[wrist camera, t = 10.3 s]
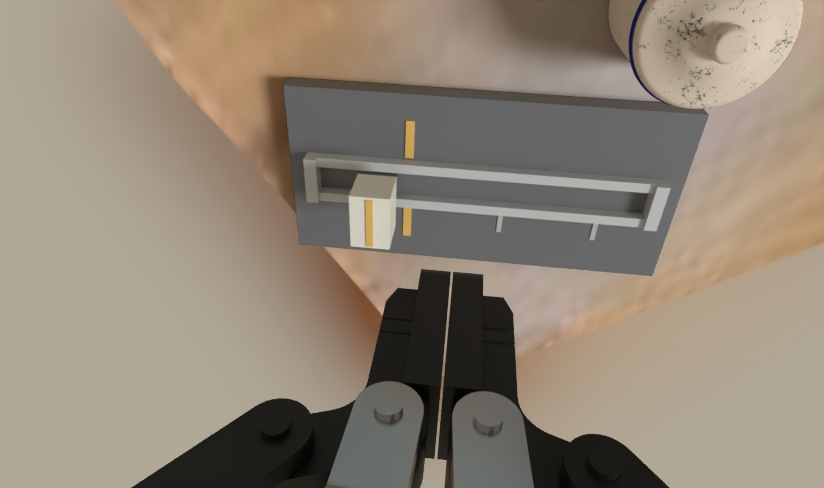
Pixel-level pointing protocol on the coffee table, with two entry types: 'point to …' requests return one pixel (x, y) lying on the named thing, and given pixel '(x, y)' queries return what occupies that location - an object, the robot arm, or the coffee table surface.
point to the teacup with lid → (704, 45)
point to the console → (494, 171)
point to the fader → (373, 210)
